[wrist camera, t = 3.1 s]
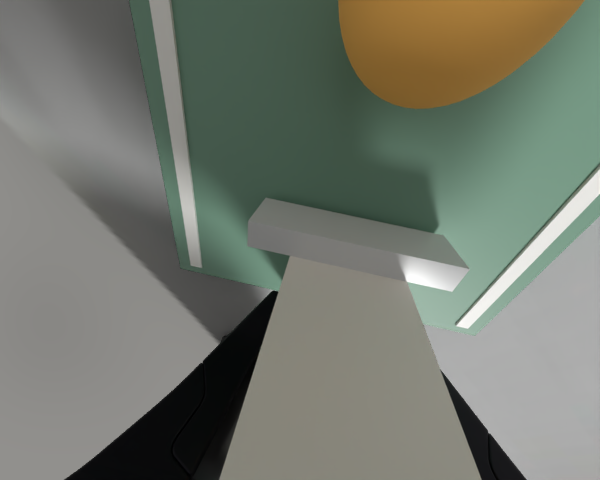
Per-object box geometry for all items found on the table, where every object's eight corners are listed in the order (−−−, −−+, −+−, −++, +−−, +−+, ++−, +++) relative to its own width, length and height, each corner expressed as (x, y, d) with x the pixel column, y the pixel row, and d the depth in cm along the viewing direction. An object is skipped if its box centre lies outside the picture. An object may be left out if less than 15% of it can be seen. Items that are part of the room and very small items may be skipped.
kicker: (392, 317, 11) (473, 645, 4) (258, 286, 11) (144, 551, 5) (443, 235, 8) (867, 779, 2) (265, 197, 9) (11, 534, 2)
